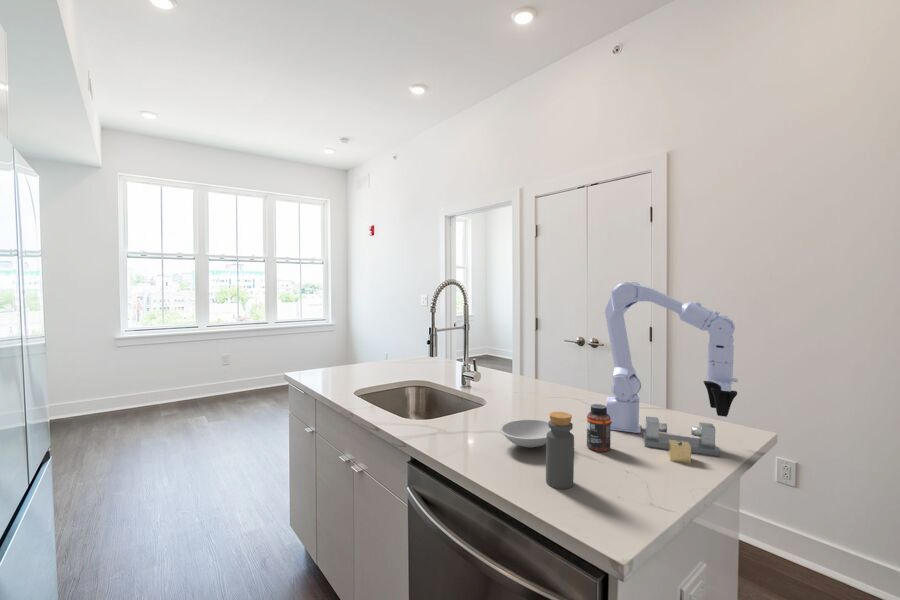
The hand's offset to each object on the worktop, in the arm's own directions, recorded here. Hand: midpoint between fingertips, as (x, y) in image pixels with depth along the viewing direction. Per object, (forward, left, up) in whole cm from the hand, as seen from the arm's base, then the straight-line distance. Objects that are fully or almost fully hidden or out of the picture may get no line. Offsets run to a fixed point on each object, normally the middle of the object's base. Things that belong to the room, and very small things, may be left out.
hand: (718, 411), depth 112 cm
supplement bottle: (-30, -14, -10) cm, 34 cm away
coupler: (-11, -13, -10) cm, 19 cm away
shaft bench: (-10, -4, -9) cm, 14 cm away
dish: (-47, -20, -10) cm, 52 cm away
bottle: (-37, -38, -10) cm, 54 cm away
